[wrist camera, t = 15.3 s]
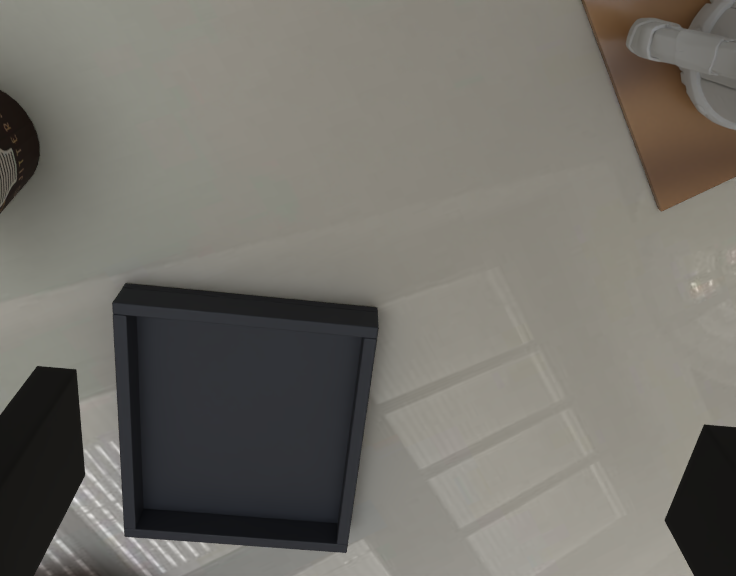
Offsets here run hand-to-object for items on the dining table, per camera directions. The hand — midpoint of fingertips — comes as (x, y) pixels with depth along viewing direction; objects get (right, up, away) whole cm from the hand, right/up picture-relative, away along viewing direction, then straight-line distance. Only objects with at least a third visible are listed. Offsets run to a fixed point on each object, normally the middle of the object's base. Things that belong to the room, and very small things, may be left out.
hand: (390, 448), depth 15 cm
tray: (-9, -5, +32) cm, 34 cm away
